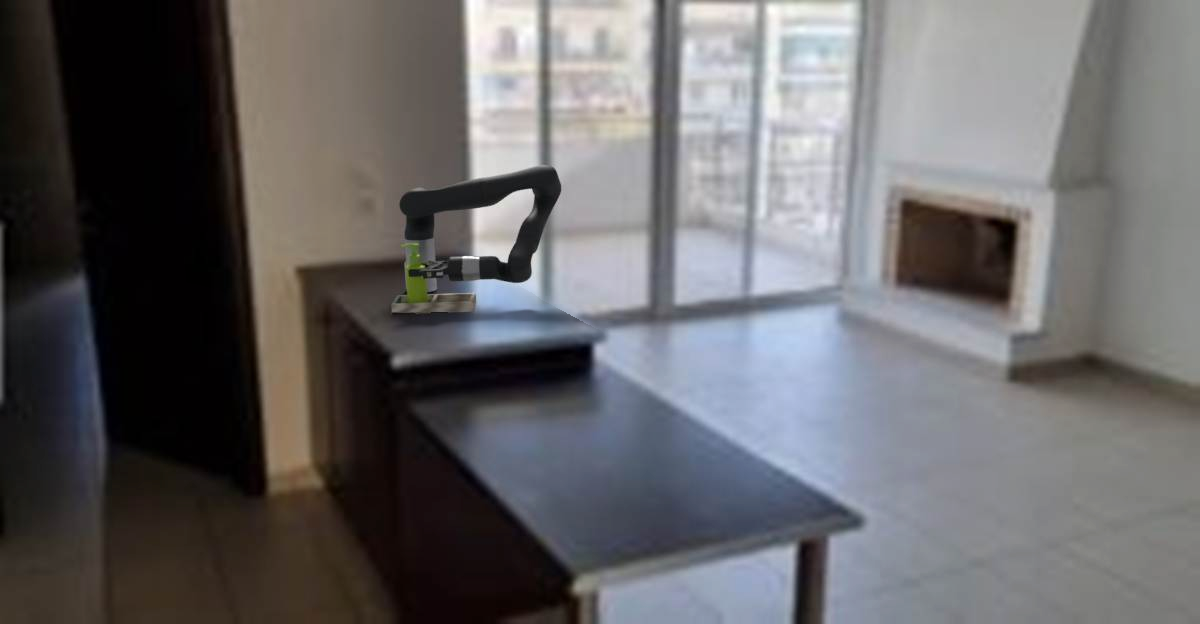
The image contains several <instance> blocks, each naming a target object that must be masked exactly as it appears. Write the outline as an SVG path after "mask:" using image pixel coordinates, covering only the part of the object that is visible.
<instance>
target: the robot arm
mask: <svg viewBox="0 0 1200 624" xmlns="http://www.w3.org/2000/svg"><path fill="white" fill-rule="evenodd" d="M523 190H531V191H532V194H533V195H534V197H533V205H532V209H531V211H530V213H529V214H528V215H527V216H526V218H524V219H523V221H522V223H521V224H520V227H519V230H518V233H517V237H516V240H515V243H514V244H513V246H512V248H511V250H510V251H509V254H508V257H507V262H505V261H504V262H503V261H501V260H500V258H498V256H493V255H487V256H486V255H484V256H483V255H482V256H479V255H478V256H476V255H461V256H460V255H458V256H457V255H456V256H455V255H453V256H452V255H451V256H449V257H448V260H436V250H435V237H434V236H435V235H434V231H435V214H438V213H442V212H450V211H451V212H453V211H463V210H465V211H467V210H474V209H479V208H488V207H492V206H494V205H496V204H498V203H500V202H501V201H503V200H504V199H505V198H506V197H508V196H510V195H511V194H513V193H516V192H518V191H519V192H520V191H523ZM561 193H562V183H561V181H560V178H559V174H558V171H557V169H556V168H555V167H553V166H552V165H549V164H541V165H535V166H532V167H529V168H524V169H520V170H518V171H514V172H509V173H508V172H507V173H504V174H497V175H493V176H487V177H486V176H485V177H480V178H478V177H477V178H474V179H469V180H468V179H467V180H465V181H460V182H457V183H454V184H451V185H448V186H445V187H442V188H441V187H440V188H436V189H426V188H423V187H413V188H412V189H410V190H408V191H406V192H404V194H403V195H402V196H401V198H400V200H399V204H398V205H399V209H400V211H401V214H403V215H404V216H405V218H406V219H405V220H406V222H405V229H404V244H408V243H417V244H419V247H417V253H418V254H420V256H421V265H425V268H422V269H409V271H408V272H409V277H421V276H422V277H423V278H424V279H426V285H427V293H431V292H435V291H437V289H438V284H437V279H444V276H448V280H449V281H450V282H473V281H482V280H497V281H500V282H506V283H512V284H521V283H525V282H527V281H528V280H530V278H531V276H532V274H533V269H532V259H533V256H534V254H535V253H537V251H538V249H539V248H538V247H539V245H540V242H541V239H542V235H543V233H544V229H545V227H546V224H547V222H548V219H549V217H550V216H551V213H552V211H553V209H554V207H555V205H556V203H557V202H558V199H559V197H560V196H561ZM410 254H412V250H411V246H408V247H405V258H406V259H405V261H404V264H403V265H404V275H405V276H404V277H405V290H406V289H407V282H406V266H408V265H410V263H409V255H410Z"/></svg>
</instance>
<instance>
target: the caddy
mask: <svg viewBox="0 0 1200 624" xmlns="http://www.w3.org/2000/svg"><path fill="white" fill-rule="evenodd" d="M427 301H428V303H408V297H407V294H403V295H402V294H401V295H400V294H399V295H398V294H397V295H396V297H395V299H394V300H393V302H392V303H391V307H390V309H391V313H392V312H415V313H416V312H422V313H421V314H432V313H431V312H448V313H472V312H474V310H475V307H476V304H477V294H476V292H472V293H471V292H463V293H433V294H432V293H431V294H430V293H429V294H428V293H427ZM416 314H417V313H416Z"/></svg>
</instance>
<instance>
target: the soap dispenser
mask: <svg viewBox="0 0 1200 624" xmlns="http://www.w3.org/2000/svg"><path fill="white" fill-rule="evenodd" d="M408 246H411V250H412V254H410V255H409V263H410V265H408V266H406V280H405V283H406V282H407V290H406V295H407V297H408V303H428V301H427V294H428V292H427V285H426V279H424V278H423V277H422V276H421V277H409V272H408V271H409V269H422V268H425V265H421V256H420V254H418V253H417V247H419V244H417V243H408V244H405V243H404V244H401V245H400V248H406V247H408Z"/></svg>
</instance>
